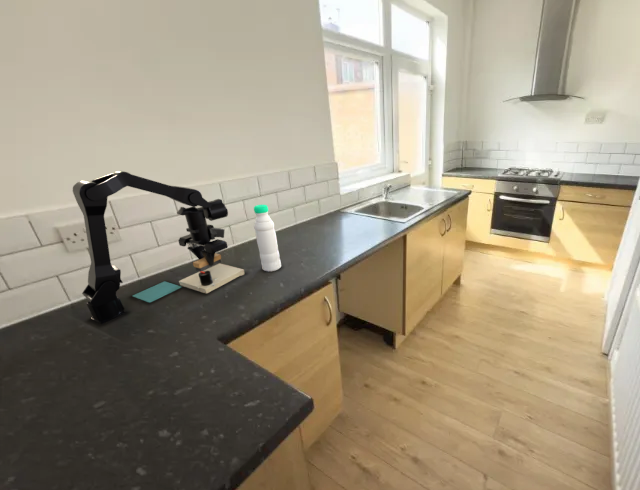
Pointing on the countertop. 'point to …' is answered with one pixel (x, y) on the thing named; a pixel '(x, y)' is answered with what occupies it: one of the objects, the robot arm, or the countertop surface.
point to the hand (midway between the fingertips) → (208, 264)
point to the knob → (205, 278)
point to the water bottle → (266, 239)
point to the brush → (206, 263)
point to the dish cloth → (156, 291)
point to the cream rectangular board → (213, 278)
